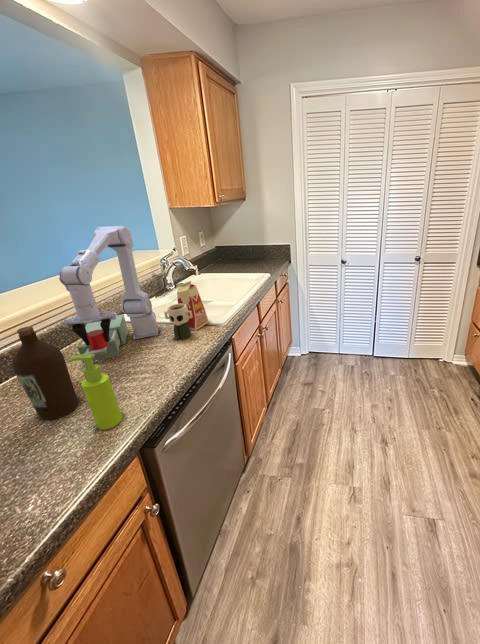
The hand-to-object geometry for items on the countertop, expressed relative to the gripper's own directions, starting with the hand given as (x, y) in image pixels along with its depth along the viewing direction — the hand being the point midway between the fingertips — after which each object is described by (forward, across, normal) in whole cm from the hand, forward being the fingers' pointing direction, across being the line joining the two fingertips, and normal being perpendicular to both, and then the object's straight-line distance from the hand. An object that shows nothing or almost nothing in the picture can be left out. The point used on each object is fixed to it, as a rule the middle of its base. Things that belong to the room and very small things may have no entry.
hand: (98, 342), depth 106 cm
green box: (+10, -2, +24) cm, 27 cm away
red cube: (+1, 0, 0) cm, 1 cm away
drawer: (+9, -3, +11) cm, 14 cm away
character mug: (+10, +25, +14) cm, 31 cm away
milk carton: (+10, +30, +24) cm, 40 cm away
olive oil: (+10, -10, -18) cm, 23 cm away
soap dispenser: (+10, +4, -30) cm, 32 cm away
